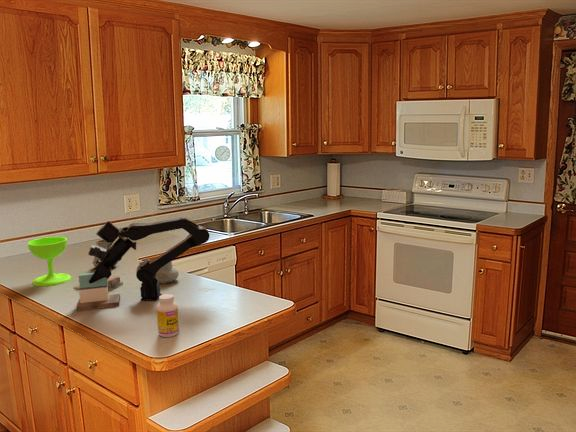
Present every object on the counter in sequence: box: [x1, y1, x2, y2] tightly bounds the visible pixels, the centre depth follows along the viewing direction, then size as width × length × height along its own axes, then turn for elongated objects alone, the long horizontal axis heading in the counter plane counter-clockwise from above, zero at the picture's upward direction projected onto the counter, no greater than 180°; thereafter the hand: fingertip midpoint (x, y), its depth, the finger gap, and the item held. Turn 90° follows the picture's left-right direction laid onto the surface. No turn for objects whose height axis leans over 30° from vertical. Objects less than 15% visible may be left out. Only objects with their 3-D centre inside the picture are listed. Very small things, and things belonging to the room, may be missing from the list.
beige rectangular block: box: [78, 286, 109, 303], centre depth 209 cm, size 10×3×6 cm, turn 104°
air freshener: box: [156, 260, 179, 284], centre depth 234 cm, size 11×8×10 cm
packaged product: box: [73, 275, 124, 292], centre depth 231 cm, size 18×5×10 cm
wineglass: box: [26, 236, 72, 287], centre depth 240 cm, size 16×16×18 cm
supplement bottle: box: [156, 293, 180, 338], centre depth 178 cm, size 7×7×13 cm
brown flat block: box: [76, 293, 121, 311], centre depth 210 cm, size 15×10×2 cm, turn 104°
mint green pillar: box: [78, 272, 108, 288], centre depth 208 cm, size 10×2×5 cm, turn 104°
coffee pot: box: [92, 239, 119, 268], centre depth 254 cm, size 21×12×15 cm, turn 32°
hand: (90, 281), depth 208 cm, fingers closed on mint green pillar, 2 cm apart
